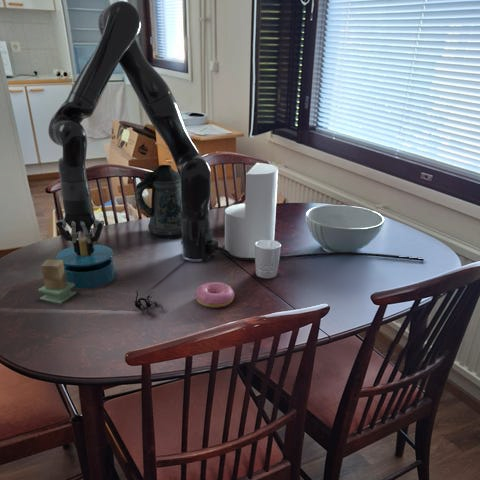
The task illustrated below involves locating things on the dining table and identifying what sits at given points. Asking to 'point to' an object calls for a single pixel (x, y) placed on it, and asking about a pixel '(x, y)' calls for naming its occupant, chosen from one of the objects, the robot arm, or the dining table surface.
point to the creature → (146, 304)
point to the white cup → (267, 258)
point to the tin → (90, 275)
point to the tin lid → (85, 255)
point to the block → (54, 274)
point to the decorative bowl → (343, 227)
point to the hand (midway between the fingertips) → (84, 253)
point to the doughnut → (214, 295)
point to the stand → (57, 293)
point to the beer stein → (162, 202)
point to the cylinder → (253, 212)
